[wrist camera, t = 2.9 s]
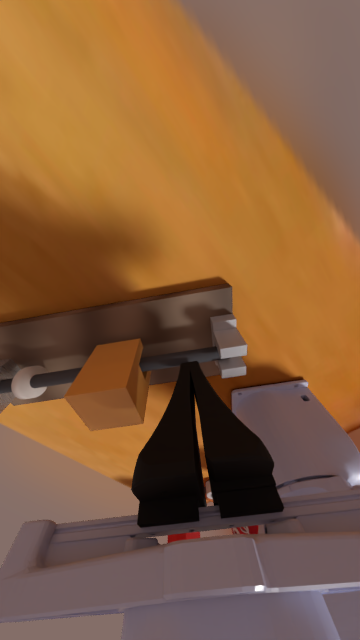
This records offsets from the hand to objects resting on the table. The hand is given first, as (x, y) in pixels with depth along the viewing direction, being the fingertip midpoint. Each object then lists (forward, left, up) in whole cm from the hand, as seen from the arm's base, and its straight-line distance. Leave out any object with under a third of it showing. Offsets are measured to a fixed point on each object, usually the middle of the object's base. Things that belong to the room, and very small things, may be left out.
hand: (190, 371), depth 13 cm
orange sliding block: (+6, 0, -3) cm, 7 cm away
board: (+8, 0, -5) cm, 10 cm away
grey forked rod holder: (-4, 0, -5) cm, 6 cm away
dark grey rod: (+7, 0, -3) cm, 8 cm away
